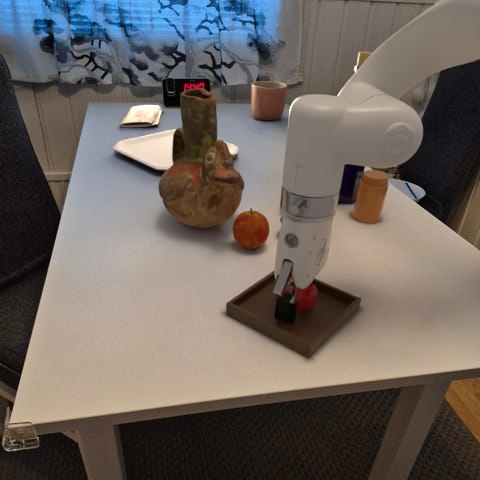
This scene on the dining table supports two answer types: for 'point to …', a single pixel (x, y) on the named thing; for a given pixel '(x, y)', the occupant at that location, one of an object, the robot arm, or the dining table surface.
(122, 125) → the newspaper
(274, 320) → the tray
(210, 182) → the ceramic vessel
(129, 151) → the plate
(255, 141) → the dining table surface
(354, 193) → the bottle
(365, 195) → the jar
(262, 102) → the planter
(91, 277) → the dining table surface
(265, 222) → the fruit
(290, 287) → the jar lid
